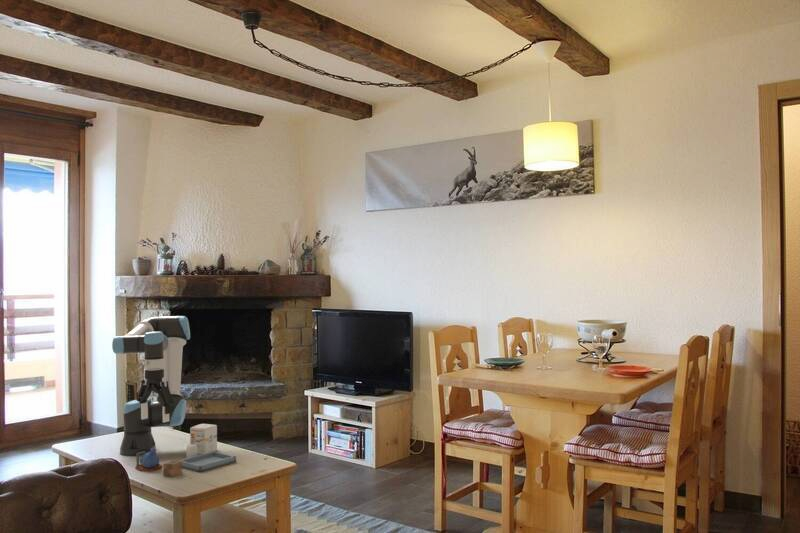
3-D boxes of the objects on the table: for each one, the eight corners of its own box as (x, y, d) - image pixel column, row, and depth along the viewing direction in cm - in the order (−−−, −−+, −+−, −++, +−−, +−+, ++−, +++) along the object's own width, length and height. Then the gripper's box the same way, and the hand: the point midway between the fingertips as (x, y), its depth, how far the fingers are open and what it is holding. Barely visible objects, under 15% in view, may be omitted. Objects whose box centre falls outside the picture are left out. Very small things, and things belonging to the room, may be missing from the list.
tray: (177, 466, 271) (177, 460, 271) (214, 456, 285) (214, 451, 286) (199, 472, 262) (199, 466, 262) (236, 461, 276) (236, 456, 276)
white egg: (184, 460, 281) (184, 446, 282) (193, 457, 285) (193, 443, 285) (190, 461, 279) (190, 447, 279) (199, 459, 282) (199, 445, 282)
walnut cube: (163, 476, 258) (163, 463, 258) (171, 472, 263) (171, 460, 263) (173, 477, 257) (173, 464, 257) (181, 473, 261) (181, 461, 261)
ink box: (189, 453, 293) (189, 427, 293) (202, 448, 300) (201, 423, 301) (205, 454, 289) (205, 428, 290) (217, 450, 297) (217, 424, 297)
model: (166, 468, 270) (166, 445, 270) (145, 473, 263) (144, 450, 264) (152, 463, 278) (152, 441, 278) (131, 468, 271) (130, 445, 272)
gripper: (127, 368, 276) (128, 419, 275) (166, 371, 263) (167, 425, 262) (142, 366, 282) (143, 415, 282) (181, 369, 269) (182, 421, 269)
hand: (155, 420), depth 272 cm, fingers open, 13 cm apart
